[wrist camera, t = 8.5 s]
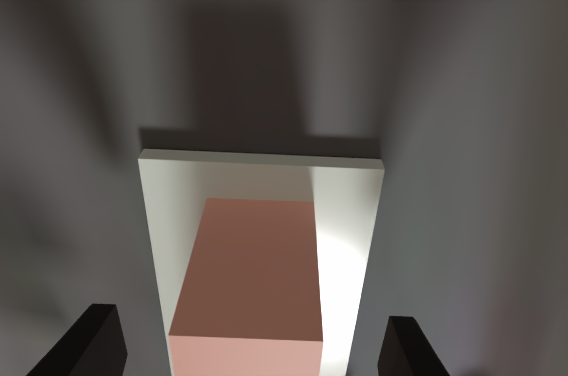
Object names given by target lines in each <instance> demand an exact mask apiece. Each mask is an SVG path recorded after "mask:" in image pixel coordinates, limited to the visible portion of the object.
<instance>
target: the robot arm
mask: <svg viewBox="0 0 568 376" xmlns="http://www.w3.org/2000/svg"><path fill="white" fill-rule="evenodd" d="M127 355H128V354H127V349H126V345H125V341H124V337H123V332H122V328H121V324H120V320H119V315H118V311H117V307H116V305H114V304H92V305H91V306H89V307H88V309H87V310H86V311H85V312H84V313H83V314H82V315H81V316H80V318H79V319H78V320H77V321H76V322H75V323H74V324H73V325H72V327H71V328H70V329H69V330H68V331H67V332H66V333H65V334H64V336H63V337H62V338H61V339H60V340H59V341H58V342H57V343H56V344H55V345H54V347H53V348H52V349H51V350H50V351H49V352H48V353H47V354H46V355H45V356H44V357H43V358H42V359H41V360H40V361H39V363H38V364H37V365H36V366H35V367H34V368H33V369H32V370H31V371H30V372H29V373H28V374H27V375H26V376H122V375H123V371H124V367H125V363H126V359H127ZM377 365H378V374H379V376H450V375H449V373H448V372H447V370H446V369H445V367H444V366H443V364H442V363H441V361H440V359H439V358H438V356H437V355H436V353H435V352H434V350H433V348H432V347H431V345H430V343H429V342H428V340H427V338H426V337H425V335H424V333H423V332H422V330H421V328H420V327H419V325H418V323H417V321H416V320H415V319H414V318H413V317H403V316H389V320H388V324H387V328H386V332H385V336H384V340H383V344H382V348H381V352H380V356H379V360H378V364H377Z"/></svg>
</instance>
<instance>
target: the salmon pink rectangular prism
mask: <svg viewBox="0 0 568 376" xmlns="http://www.w3.org/2000/svg"><path fill="white" fill-rule="evenodd" d="M168 338H169V345H170V351H171V358H172V364H173V371H174V376H319V373H320V366H321V358H322V351H323V344H324V338H323V323H322V309H321V294H320V280H319V265H318V251H317V236H316V222H315V207H314V202H296V201H272V200H248V199H225V198H207V200H206V203H205V207H204V210H203V214H202V217H201V221H200V224H199V228H198V231H197V235H196V239H195V242H194V246H193V249H192V253H191V256H190V260H189V263H188V267H187V270H186V274H185V277H184V281H183V285H182V288H181V292H180V295H179V299H178V302H177V306H176V309H175V313H174V316H173V320H172V323H171V327H170V331H169V334H168Z"/></svg>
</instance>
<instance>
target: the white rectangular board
mask: <svg viewBox="0 0 568 376" xmlns="http://www.w3.org/2000/svg"><path fill="white" fill-rule="evenodd" d="M138 162H139V168H140V175H141V181H142V188H143V194H144V200H145V207H146V213H147V220H148V226H149V232H150V239H151V245H152V252H153V258H154V264H155V271H156V277H157V284H158V290H159V296H160V303H161V309H162V316H163V322H164V328H165V335H166V341H167V348H168V354H169V360H170V367H171V373H172V376H174V371H173V364H172V358H171V351H170V345H169V338H168V334H169V331H170V327H171V323H172V320H173V316H174V313H175V309H176V306H177V302H178V299H179V295H180V292H181V288H182V285H183V281H184V277H185V274H186V270H187V267H188V263H189V260H190V256H191V253H192V249H193V246H194V242H195V239H196V235H197V231H198V228H199V224H200V221H201V217H202V214H203V210H204V207H205V203H206V200H207V198H225V199H248V200H272V201H296V202H314V207H315V222H316V236H317V251H318V265H319V280H320V294H321V309H322V323H323V338H324V344H323V351H322V358H321V366H320V373H319V376H345V375H346V370H347V365H348V359H349V354H350V349H351V344H352V338H353V333H354V328H355V323H356V317H357V312H358V307H359V302H360V297H361V291H362V286H363V281H364V276H365V270H366V265H367V260H368V255H369V249H370V244H371V239H372V234H373V229H374V223H375V218H376V213H377V208H378V202H379V197H380V192H381V187H382V181H383V176H384V171H385V169H384V166H383V163H382V160H381V159H364V158H342V157H319V156H297V155H274V154H252V153H229V152H207V151H184V150H162V149H143V151H142V153H141V154H140V156H139V158H138Z"/></svg>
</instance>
